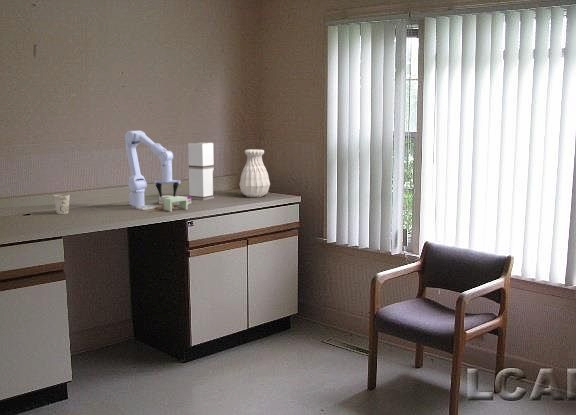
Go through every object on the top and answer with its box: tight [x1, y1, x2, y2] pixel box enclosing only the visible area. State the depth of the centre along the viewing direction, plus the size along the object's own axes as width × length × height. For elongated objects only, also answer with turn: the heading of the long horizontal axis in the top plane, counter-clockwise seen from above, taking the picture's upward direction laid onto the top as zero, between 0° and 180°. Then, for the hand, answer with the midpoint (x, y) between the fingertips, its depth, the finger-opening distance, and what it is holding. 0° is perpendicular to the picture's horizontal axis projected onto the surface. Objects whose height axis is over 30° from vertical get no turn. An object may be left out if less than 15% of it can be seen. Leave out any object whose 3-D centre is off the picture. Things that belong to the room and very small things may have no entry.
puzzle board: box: [133, 204, 189, 214], centre depth 369 cm, size 23×22×1 cm
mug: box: [53, 193, 71, 215], centre depth 361 cm, size 8×13×10 cm, turn 27°
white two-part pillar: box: [187, 141, 215, 201], centre depth 413 cm, size 11×11×35 cm
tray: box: [135, 204, 156, 211], centre depth 370 cm, size 8×8×1 cm
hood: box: [164, 195, 189, 212], centre depth 364 cm, size 7×11×7 cm, turn 132°
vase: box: [239, 148, 271, 198], centre depth 423 cm, size 20×20×30 cm
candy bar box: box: [158, 195, 192, 206], centre depth 389 cm, size 11×5×16 cm
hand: (167, 196), depth 370 cm, fingers open, 7 cm apart
